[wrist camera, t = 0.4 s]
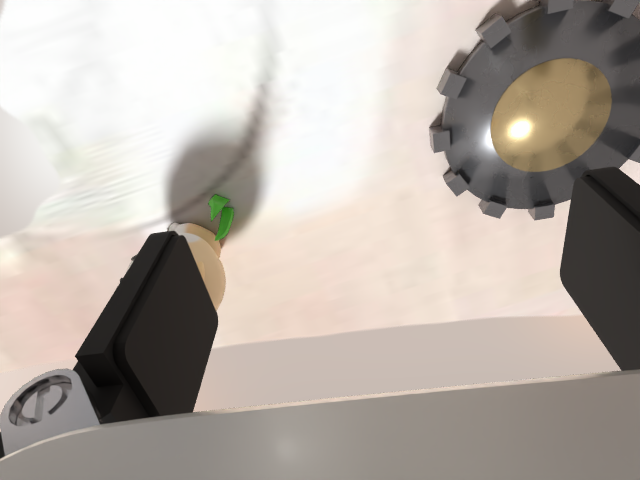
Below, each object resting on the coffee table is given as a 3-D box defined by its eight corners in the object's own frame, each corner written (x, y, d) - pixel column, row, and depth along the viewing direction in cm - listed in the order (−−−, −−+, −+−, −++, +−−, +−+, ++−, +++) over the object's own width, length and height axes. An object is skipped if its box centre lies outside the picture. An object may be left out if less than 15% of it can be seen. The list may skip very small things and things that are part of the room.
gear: (420, 18, 39) (424, 21, 37) (695, -46, 36) (711, -45, 34) (437, 227, 51) (440, 235, 49) (644, 192, 48) (654, 200, 46)
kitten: (184, 168, 47) (133, 249, 35) (265, 215, 50) (244, 304, 38) (132, 260, 54) (75, 354, 42) (206, 296, 57) (172, 393, 45)
